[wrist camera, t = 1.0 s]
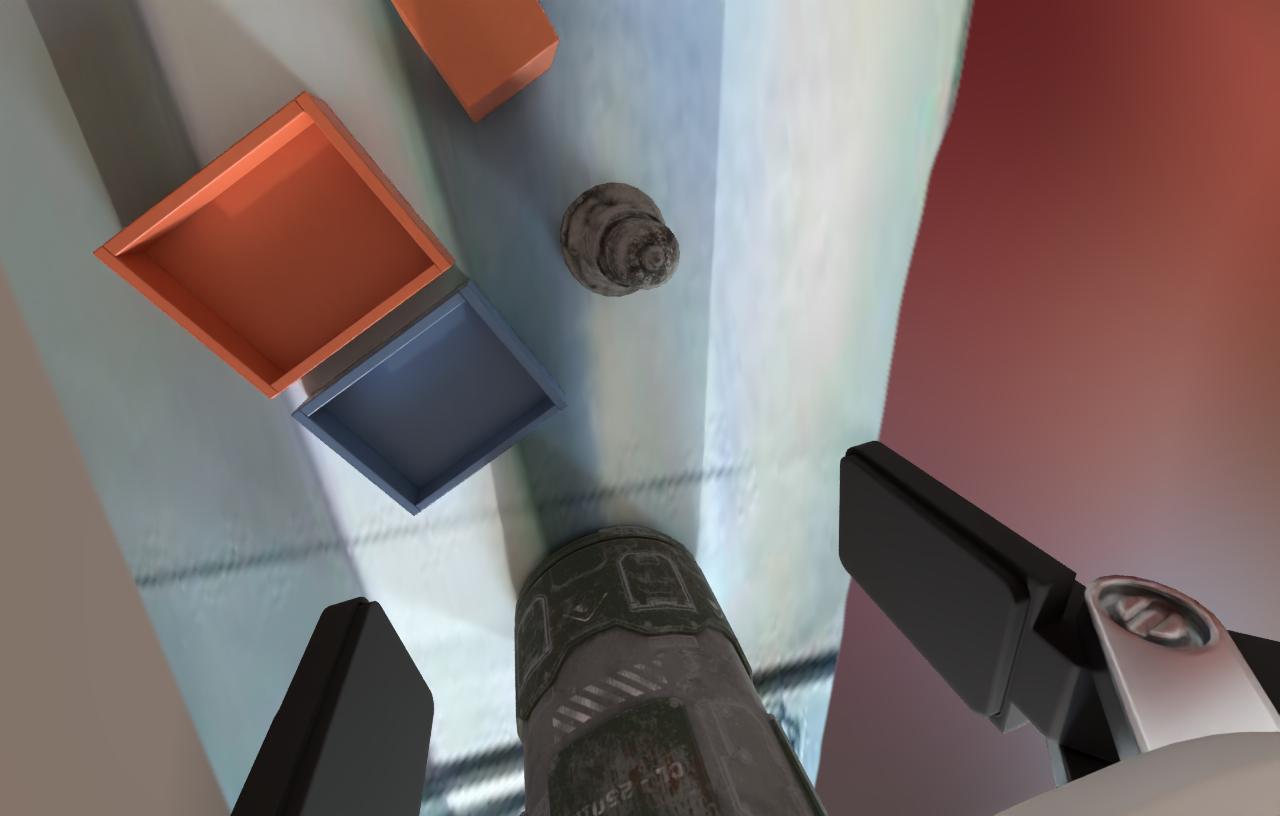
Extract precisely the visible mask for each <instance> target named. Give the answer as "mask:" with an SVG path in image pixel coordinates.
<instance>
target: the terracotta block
mask: <svg viewBox="0 0 1280 816" xmlns="http://www.w3.org/2000/svg"><path fill="white" fill-rule="evenodd" d="M391 1H392V3H393V5H394V6H395V8H396V10H397V11H398V13H399V15H400V16H401V18H402V20H403V21H404V23H405V25H406V26H407V27H408V29H409V30H410V32H411V33H412V35H413V36H414V37H415V39H416V40H417V42H418V43H419V45H420V46H421V48H422V49H423V50H424V52H425V53H426V55H427V56H428V58H429V59H430V60H431V62H432V63H433V65H434V66H435V68H436V69H437V70H438V72H439V73H440V75H441V76H442V78H443V79H444V80H445V82H446V83H447V85H448V86H449V88H450V89H451V91H452V92H453V93H454V95H455V96H456V98H457V99H458V101H459V102H460V103H461V105H462V106H463V108H464V109H465V111H466V112H467V113H468V115H469V116H470V118H471V119H472V121H473V122H474V123H477V122H478V121H480V120H481V119H482V118H484V117H485V116H486V115H488V114H489V113H490V112H492V111H493V110H494V109H496V108H497V107H498V106H500V105H501V104H502V103H504V102H505V101H506V100H508V99H509V98H510V97H512V96H513V95H514V94H516V93H517V92H518V91H520V90H521V89H522V88H524V87H525V86H526V85H528V84H529V83H530V82H532V81H533V80H534V79H536V78H537V77H538V76H540V75H541V74H542V73H544V72H545V71H546V70H548V69H549V68H550V67H551V64H552V61H553V58H554V55H555V52H556V49H557V46H558V43H559V37H558V35H557V34H556V32H555V30H554V28H553V27H552V25H551V23H550V21H549V19H548V18H547V16H546V14H545V12H544V11H543V9H542V7H541V5H540V4H539V2H538V0H391Z"/></svg>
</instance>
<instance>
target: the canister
mask: <svg viewBox="0 0 1280 816" xmlns="http://www.w3.org/2000/svg"><path fill="white" fill-rule="evenodd" d="M515 688H516V722H517V733H518V736H519V738H520V740H521V742H522V744H523V747H524V779H525V811H524V812H522V813H521V814H520V816H828V814H827V812H826V810H825V808H824V806H823V805H822V803H821V800H820V799H819V797H818V795H817V793H816V791H815V789H814V787H813V785H812V783H811V781H810V780H809V778H808V776H807V774H806V772H805V770H804V768H803V766H802V764H801V763H800V761H799V759H798V757H797V755H796V753H795V751H794V749H793V747H792V745H791V744H790V742H789V740H788V738H787V736H786V734H785V732H784V730H783V728H782V726H781V725H780V723H779V721H778V719H777V718H776V717H775V716H774V715H772V714H767V712H766V710H765V708H764V706H763V704H762V702H761V700H760V698H759V696H758V694H757V692H756V690H755V688H754V686H753V678H752V669H751V667H750V665H749V663H748V661H747V659H746V656H745V654H744V652H743V650H742V648H741V646H740V644H739V642H738V640H737V638H736V636H735V634H734V632H733V630H732V628H731V626H730V624H729V623H728V621H727V619H726V617H725V615H724V613H723V611H722V609H721V607H720V605H719V603H718V601H717V599H716V597H715V595H714V594H713V592H712V590H711V588H710V586H709V584H708V582H707V580H706V578H705V576H704V574H703V572H702V570H701V568H700V567H699V566H698V565H697V563H696V561H695V559H694V557H693V555H692V554H691V553H690V552H689V551H688V550H687V549H686V548H685V547H684V546H683V545H682V544H680V543H679V542H677V541H676V540H674V539H673V538H671V537H670V536H668V535H665V534H663V533H660V532H657V531H655V530H652V529H649V528H643V527H637V526H614V527H609V528H604V529H599V530H598V532H597V533H594V534H591V535H588V536H585V537H583V538H580V539H577V540H575V541H574V542H572V543H570V544H568V545H566V546H564V547H562V548H560V549H559V550H558V551H556V552H555V553H554V554H552V555H551V556H550V557H548V558H547V559H546V560H544V561H543V563H542V564H541V565H540V566H539V567H538V568H537V569H536V570H535V571H534V572H533V573H532V574H531V576H530V577H529V579H528V581H527V582H526V584H525V585H524V587H523V589H522V590H521V592H520V595H519V598H518V601H517V604H516V611H515Z"/></svg>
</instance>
